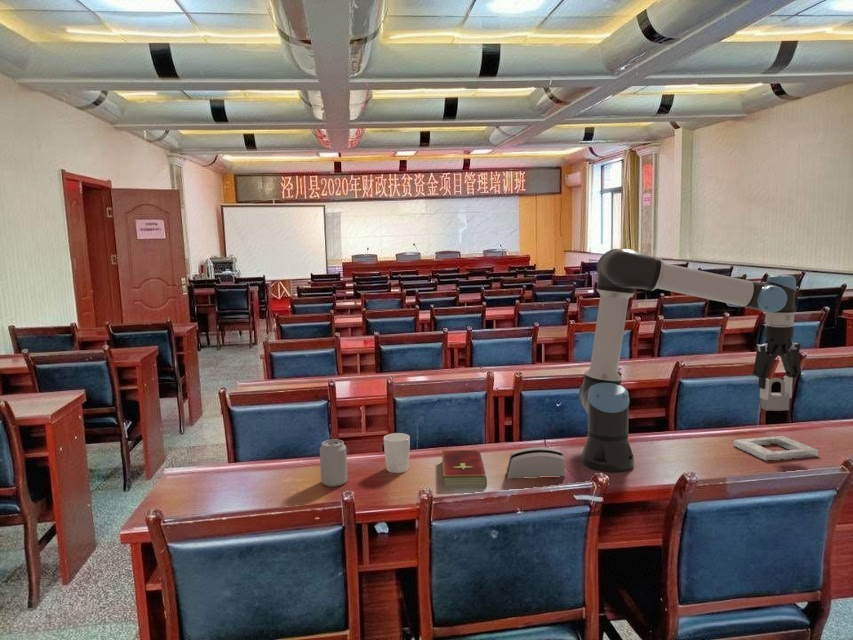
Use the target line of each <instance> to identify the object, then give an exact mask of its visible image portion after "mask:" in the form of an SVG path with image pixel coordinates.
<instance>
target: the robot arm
mask: <svg viewBox="0 0 853 640" xmlns="http://www.w3.org/2000/svg"><path fill="white" fill-rule="evenodd" d="M596 273H597V281H596V289H595V290H596V291H597V293H598V294H599V296H600V297H599V304H598V312H597V318H596V324H595V332H594V338H593V346H592V352H591V360H590V366H589V368H588V369H587V370H586V371H585V372H584V375H583V381H582V384H581V385H580V387H579V391H578V392H579V393H578V396H579V402H580V403H581V406H582V407H583V408H584V410H585V412H586V414H587V438H586V441H585V444H584V447H583V449H582V452H581V462H582V464H583V465H585V466H586V467H587V468H588V467H589V468H590V469H593V470H597V471H603V472H610V473H611V472H623V471H624V472H625V471H628V470H631V469H632V468H634V467H635V457H634V453H633V451H632V448H631V444H630V441H629V416H630V415H629V414H630V413H629V411H630V410H629V409H630V396H629V395H630V394H629V391H628V389H627V388H625V386H623V385H622V379H623V378H622V377H621V375H620V373H619V365H620V359H621V353H622V352H621V351H622V348H623V347H622V346H623V345H622V344H623V339H624V333H625V325H626V319H627V313H628V312H627V311H628V305H629V299H630V298H631V297H633V296H635V292H636V289H638V290H646V291H651V292H652V291H654V290H657V289H659V290H661V291H662V290H664V291H668V292H672V293H678V294H682V295H687V296H692V297H697V298H702V299H706V300H710V301H716V302H721V303H725V304H726V306H728V307H735V308H740V307H741V308H746V309H747V308H748V309H752V310H758V311H762V312H765V319H764V322H765V324H766V325H765V326H764V327H765V328H764V337H765V341H764V343H763V344H756V345H755V350H756V353H755V354H756V355H755V359H754V360H755V361H754V365H753V370H752V375H753V376H754V377H756V378H758V388H759V398H760V399H761V400H762V399H765V400H768V394H769V380H770V379H769V378H768V377H769V373H770V371H771V368H772V367H773V363H774V362H775V361H774V360H776V359H777V358H778V356H779V357H780V358H781V362H782V366H783V368H784V372H785V375H784V376H783V380H784V382H785V393H786V394H788V395H790V399H792V397H793V396H792V395H793V388H794V385H795V378H798V376H799V375H801V374H802V372H801V371H802V370H801V356H800V355H801V354H800V349H801V343H797V342H792V339H793V338H794V331H795V329H794V327H793V325H794V324H795V309H796V308H795V307H796V295H797V293H796V292H797V281H796V280H797V279H796V277H795V276H794V275H788V274H770V275H768V276H767V279H766V281H762V282H760V281H758V282H757V281H752V280H747V279H742V278H738V277H732V276H728V275H722V274H718V273H714V272H709V271H704V270H699V269H695V268H690V267H684V266H681V265H675V264H670V263H665V262H664V261H663V260H662V258H661V257H660V258H658V257H654V256H651V255H648V254H644V253H642V252H639V251H636V250H634V249H631V248H630V249H628V248H614V249H613V248H612V249H610V250H608V251H606V252H605V253H603V254H602V255H601V256H600V258H599V259H598V262H597V263H596Z"/></svg>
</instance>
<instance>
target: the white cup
mask: <svg viewBox="0 0 853 640" xmlns="http://www.w3.org/2000/svg"><path fill="white" fill-rule="evenodd" d="M410 437H411V436H410V435H409V434H407V433H402V432H394V433H389V434H386V435H384V436H383V449H384V457H385V460H384V461H385V466H386V471H387V472H389V473H392V474H401V473H405V472H407V471H408V470H409V465H410V464H409V463H410V452H411V451H410V450H411V449H410V446H411V445H410V442H411V441H410V440H411V439H410Z"/></svg>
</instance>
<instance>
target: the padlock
mask: <svg viewBox="0 0 853 640" xmlns="http://www.w3.org/2000/svg"><path fill="white" fill-rule="evenodd" d="M775 382H776V383H777V382H778V383H780V392H772V386H773V384H774V383H775ZM790 399H791V398H790V395H788V394H786V393H785V382H784V379H782V378H780V377H773V378H771V379H769V394H768V400H765V399H762V398H761V404H760V405H761V406H760V407H761V409H763V410H765V411H774V412H777V411H780V412H782V411H790Z"/></svg>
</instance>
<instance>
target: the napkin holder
mask: <svg viewBox="0 0 853 640" xmlns="http://www.w3.org/2000/svg"><path fill="white" fill-rule="evenodd" d="M565 466H566V465H565V456H564V454H563V452H562V451H561V450H559V449H556V448H550V447H529V448H528V447H527V448H523V449H518V450H515V451H512V452H511V453H510V454H509V459H508V463H507V467H506V472H507V473H506V474H507V476H508V477H509V478H524V477H540V476H565V477H566V468H565ZM508 477H507V478H508Z"/></svg>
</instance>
